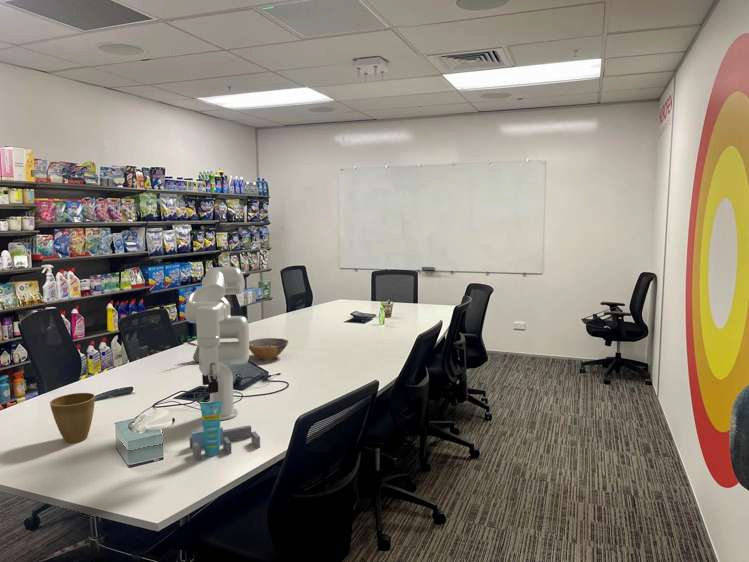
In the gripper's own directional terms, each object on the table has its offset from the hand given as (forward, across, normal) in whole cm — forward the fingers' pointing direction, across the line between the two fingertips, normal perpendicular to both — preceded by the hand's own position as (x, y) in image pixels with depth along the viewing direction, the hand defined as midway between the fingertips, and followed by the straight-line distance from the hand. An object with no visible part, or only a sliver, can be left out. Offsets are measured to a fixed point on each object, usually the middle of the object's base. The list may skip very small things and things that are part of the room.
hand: (210, 388), depth 192 cm
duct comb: (+24, -2, +5) cm, 25 cm away
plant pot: (+25, -37, -43) cm, 62 cm away
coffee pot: (+27, -127, +20) cm, 131 cm away
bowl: (+27, -120, +59) cm, 136 cm away
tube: (+24, +1, 0) cm, 24 cm away
